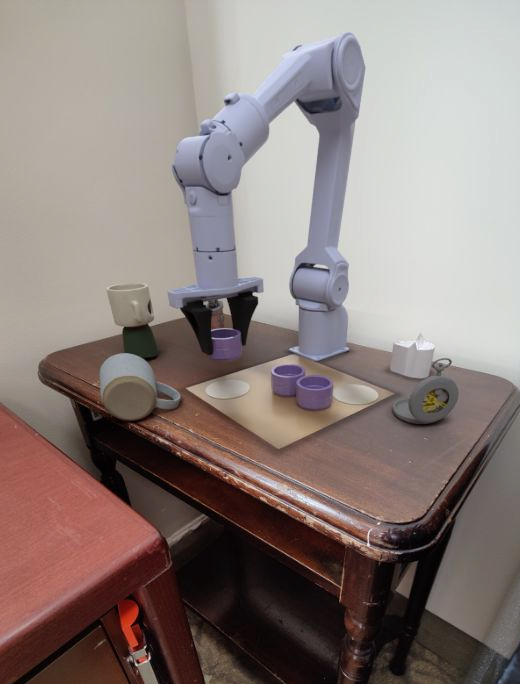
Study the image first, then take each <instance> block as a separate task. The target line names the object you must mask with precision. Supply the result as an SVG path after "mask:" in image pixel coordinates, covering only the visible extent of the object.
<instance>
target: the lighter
mask: <svg viewBox="0 0 520 684" xmlns="http://www.w3.org/2000/svg"><path fill="white" fill-rule="evenodd" d="M205 305H206V308H209V309H211V310H212V311H213V312H212V319H211V330H214V329H220V328H225V313H224V301H223V300H219V299H218V300H212V301H207V303H206V304H205Z"/></svg>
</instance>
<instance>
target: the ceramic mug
mask: <svg viewBox="0 0 520 684" xmlns="http://www.w3.org/2000/svg"><path fill="white" fill-rule="evenodd" d="M98 376H99V390H100V391H99V393H100V400H101V402H102V405H103V407H104V409H105V410H106V411H107V412H108V413H109V415H111V416H112V417H114V418H116V419H118V420H121V421H125V422H134V421H139V420H140V421H141V420H142V419H144V418H146V417H147V416H149V415H150V414H151V413H152V412H153V411H154V409H160V410H166V411H167V410H175V409H177V408H178V407H179V405H180V401H181V397H182V396H181V394H180V392H179V391H178V390H176V389H175V388H174V387H172V386H170V385H167V384H166V383H163V382H161V381H158V380H157V381H156V377H155V373H154V369H153V368H152V367H151V365H150V363H148V362H147V360H146V359H143V358H141V357H139V356H136V355H133V354H129V353H125V352H123V353H117V354H114V355H111V356H110V357H108V358H106V359H105V361H104V362H103V363H102V364H101V366H100V369H99V375H98ZM158 393H160V394H163V395H164V396H168V397H169V398H171V400H170V399H164V398H158Z"/></svg>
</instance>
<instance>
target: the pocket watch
mask: <svg viewBox="0 0 520 684" xmlns="http://www.w3.org/2000/svg"><path fill="white" fill-rule="evenodd" d="M440 361H448V362H449V363H448V364H447V365H445V366H444V364H443V363H442V362H440ZM438 362H440V363H438ZM452 362H453V360H452V359H451V358H448V357H443V358H438V359H436V360H435V361H433V362H432V364H431V368H432V369H434V370H435V371H436V374H434V375H429V376H428V377H426V378H423V380H421V381H420V382H419V383H418V384H417V385H416V386H415V387H414V388H413V390H412V391H411V392H410V393H411V394H410V395H409V398H402V399H400V400H397V401H396V402H394V403H393V405H392V412H393V414H394V416H396V417H397V418H398V419H400V420H402V421H404V422H407V423H411V424H415V425H429V424H432V423H433V424H434V423H435V422H438V421H439V420H442V419H444V418H445V417H447V416H448V415H450V413H451V412H452V410H453V409H455V406H456V405H457V402H458V400H459V396H460V395H459V392H460V391H459V387H458V385H457V383H456V381H455V380H453V378H452V377H450V376H449V375H445V374H442V372H444V371H445V369H446V368H448V367H450V366H451V365H452ZM436 363H438V365H437V366H435V364H436Z"/></svg>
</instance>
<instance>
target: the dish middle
mask: <svg viewBox="0 0 520 684" xmlns="http://www.w3.org/2000/svg"><path fill="white" fill-rule="evenodd" d="M304 376H306V370H305V368H304V367H302V366H300V365H295V364H282V365H278V366H275V367H273V368H272V369H271V389H272V390H273V392H274V394H275V395H277V396H280V397H287V398H290V397H296V383H297V380H298V379H299V378H301V377H304Z"/></svg>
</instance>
